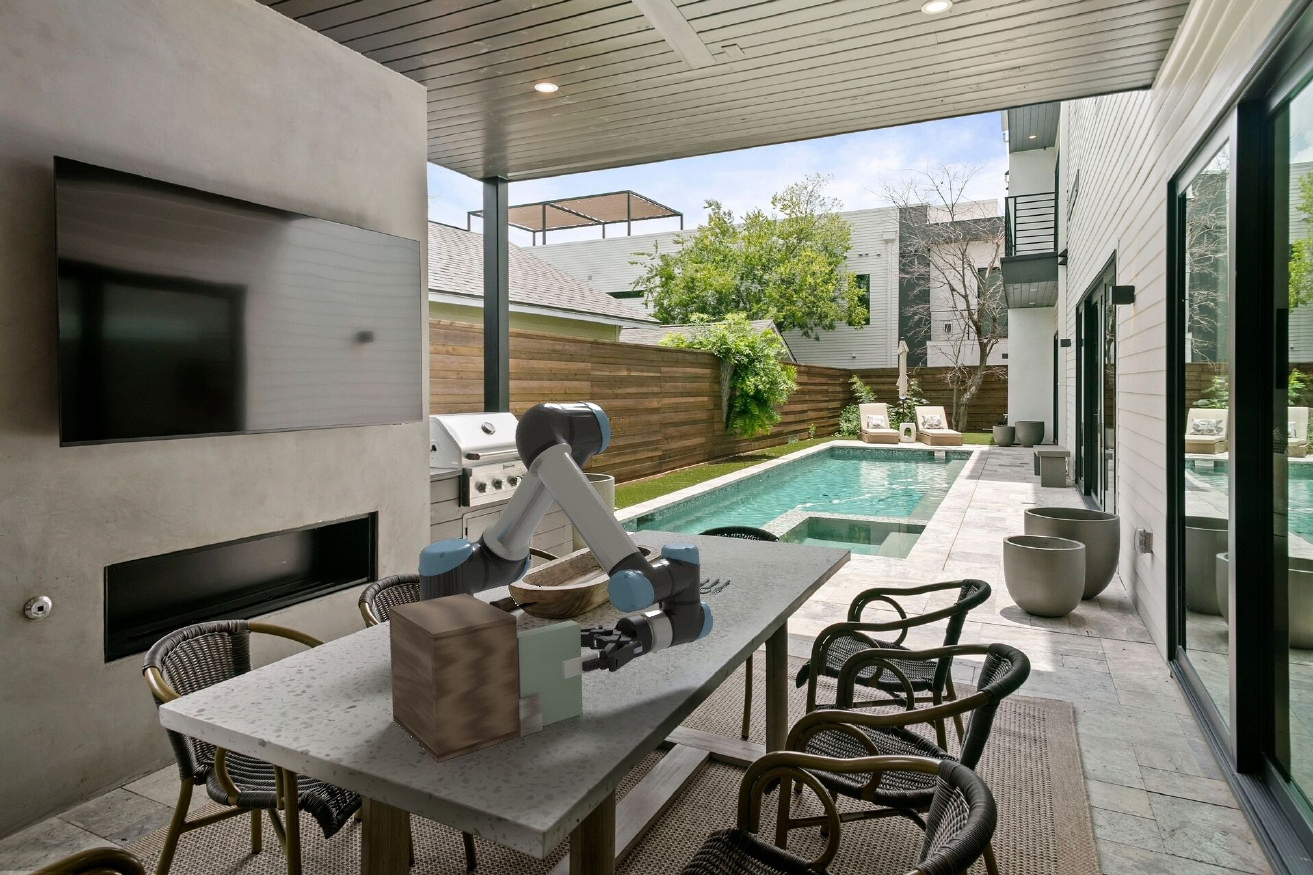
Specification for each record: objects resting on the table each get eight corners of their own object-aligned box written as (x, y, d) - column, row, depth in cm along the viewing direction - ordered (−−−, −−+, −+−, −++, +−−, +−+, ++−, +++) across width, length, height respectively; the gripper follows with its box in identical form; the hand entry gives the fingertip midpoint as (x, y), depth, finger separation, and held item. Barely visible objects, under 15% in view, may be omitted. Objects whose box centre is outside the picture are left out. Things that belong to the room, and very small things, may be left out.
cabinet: (438, 763, 117) (434, 634, 116) (393, 720, 133) (388, 607, 132) (542, 730, 128) (539, 612, 127) (488, 694, 144) (485, 589, 143)
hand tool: (498, 617, 196) (498, 599, 195) (488, 615, 198) (487, 597, 198) (549, 600, 211) (549, 584, 211) (539, 598, 213) (538, 582, 213)
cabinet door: (521, 732, 127) (518, 638, 126) (513, 726, 129) (510, 634, 129) (582, 713, 134) (580, 623, 134) (573, 708, 137) (571, 620, 136)
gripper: (685, 671, 134) (582, 702, 121) (605, 637, 154) (509, 661, 141) (684, 629, 134) (581, 656, 121) (604, 601, 153) (508, 621, 140)
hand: (542, 659), depth 131 cm, fingers open, 13 cm apart
